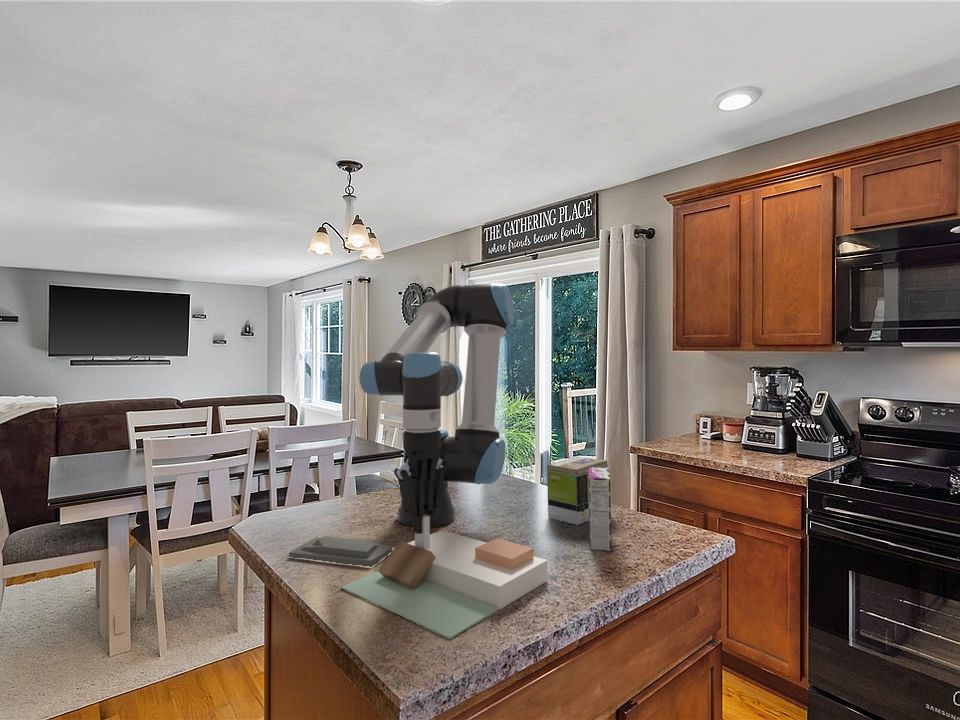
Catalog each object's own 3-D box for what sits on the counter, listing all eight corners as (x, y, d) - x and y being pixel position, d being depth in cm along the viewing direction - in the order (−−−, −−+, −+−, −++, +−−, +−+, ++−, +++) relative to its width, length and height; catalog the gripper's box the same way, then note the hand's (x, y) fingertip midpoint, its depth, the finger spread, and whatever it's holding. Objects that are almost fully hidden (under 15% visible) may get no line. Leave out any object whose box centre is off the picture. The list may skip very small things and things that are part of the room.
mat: (340, 588, 100) (340, 586, 100) (390, 568, 109) (390, 566, 109) (450, 639, 82) (450, 637, 82) (498, 610, 91) (498, 608, 91)
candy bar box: (588, 533, 130) (588, 466, 130) (609, 535, 129) (609, 467, 129) (588, 550, 119) (588, 477, 119) (611, 552, 118) (611, 478, 118)
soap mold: (316, 545, 125) (316, 530, 125) (393, 554, 119) (393, 538, 119) (288, 561, 115) (288, 545, 115) (371, 572, 109) (371, 555, 109)
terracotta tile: (475, 558, 104) (475, 547, 104) (497, 548, 110) (497, 538, 110) (512, 569, 99) (512, 559, 99) (533, 558, 104) (533, 548, 104)
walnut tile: (383, 576, 104) (378, 570, 103) (404, 546, 109) (399, 540, 108) (414, 589, 99) (409, 583, 98) (435, 557, 103) (431, 551, 102)
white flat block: (392, 568, 110) (391, 548, 110) (442, 547, 121) (442, 529, 121) (499, 609, 92) (499, 586, 92) (547, 580, 103) (547, 560, 103)
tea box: (579, 506, 153) (579, 455, 153) (609, 513, 146) (609, 460, 146) (546, 518, 143) (546, 462, 143) (577, 526, 136) (577, 468, 136)
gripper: (410, 435, 99) (411, 562, 99) (457, 427, 109) (458, 543, 109) (384, 431, 104) (384, 552, 104) (431, 425, 114) (431, 535, 114)
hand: (422, 547), depth 106 cm, fingers closed
